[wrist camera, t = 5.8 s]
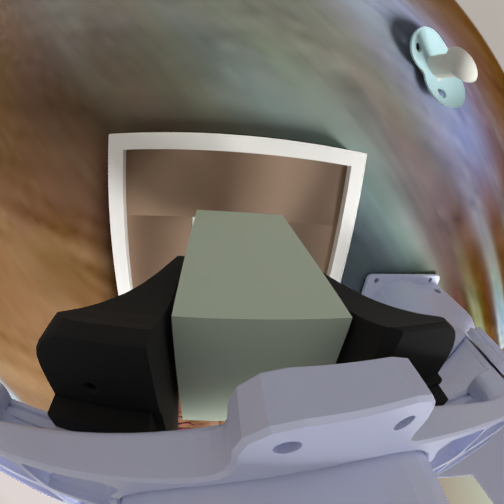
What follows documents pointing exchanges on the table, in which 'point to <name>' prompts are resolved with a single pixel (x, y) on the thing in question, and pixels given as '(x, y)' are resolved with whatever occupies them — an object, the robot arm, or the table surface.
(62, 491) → the robot arm
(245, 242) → the peg
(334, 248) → the tray
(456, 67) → the pacifier
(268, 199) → the hole plate
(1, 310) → the table surface
